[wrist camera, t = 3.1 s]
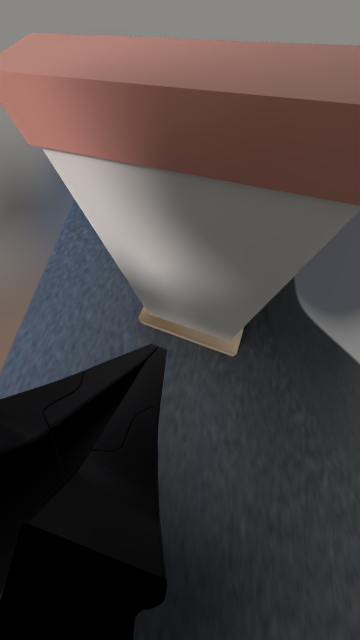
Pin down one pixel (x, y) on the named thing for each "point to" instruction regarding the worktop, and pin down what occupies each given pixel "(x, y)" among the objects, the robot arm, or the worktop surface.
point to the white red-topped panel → (196, 158)
